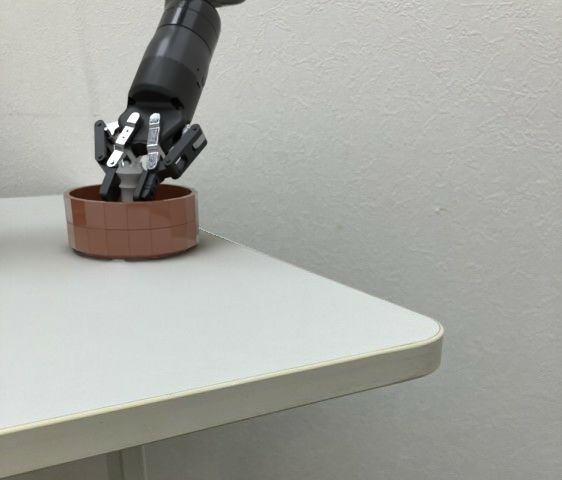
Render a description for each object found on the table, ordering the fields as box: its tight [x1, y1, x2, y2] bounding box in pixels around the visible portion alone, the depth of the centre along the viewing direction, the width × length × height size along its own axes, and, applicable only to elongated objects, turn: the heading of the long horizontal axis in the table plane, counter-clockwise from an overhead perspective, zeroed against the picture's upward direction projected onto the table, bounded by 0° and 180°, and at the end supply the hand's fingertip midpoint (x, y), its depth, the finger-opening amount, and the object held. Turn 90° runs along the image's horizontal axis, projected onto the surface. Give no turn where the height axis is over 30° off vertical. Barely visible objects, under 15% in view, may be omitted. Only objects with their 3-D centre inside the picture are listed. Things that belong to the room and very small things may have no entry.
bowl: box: [63, 182, 200, 261], centre depth 73 cm, size 14×14×6 cm
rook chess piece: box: [116, 160, 146, 202], centre depth 73 cm, size 4×4×8 cm
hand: (123, 203), depth 71 cm, fingers closed on rook chess piece, 3 cm apart
